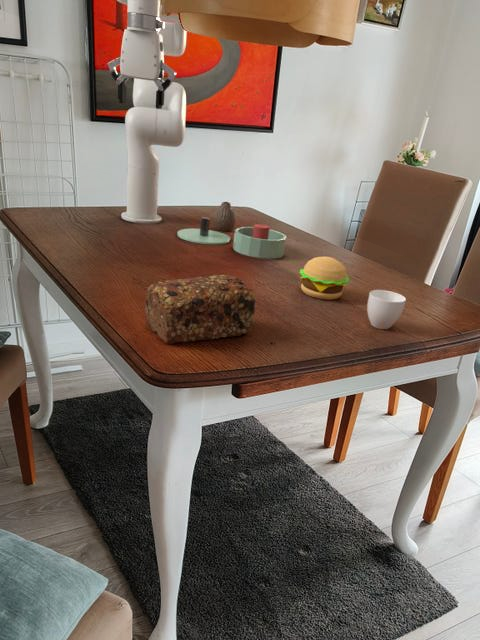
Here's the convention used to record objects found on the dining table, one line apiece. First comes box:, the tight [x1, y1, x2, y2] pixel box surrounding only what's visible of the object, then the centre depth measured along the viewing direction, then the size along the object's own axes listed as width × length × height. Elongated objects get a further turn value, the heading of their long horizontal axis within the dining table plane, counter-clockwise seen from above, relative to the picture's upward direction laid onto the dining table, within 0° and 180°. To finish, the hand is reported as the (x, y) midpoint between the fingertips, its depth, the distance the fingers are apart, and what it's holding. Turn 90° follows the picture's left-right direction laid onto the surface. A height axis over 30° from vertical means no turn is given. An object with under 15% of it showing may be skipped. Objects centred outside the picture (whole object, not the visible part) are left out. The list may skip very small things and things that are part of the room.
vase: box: [213, 201, 236, 233], centre depth 183 cm, size 7×7×9 cm
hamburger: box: [299, 256, 350, 301], centre depth 139 cm, size 12×12×9 cm
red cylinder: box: [253, 223, 270, 240], centre depth 165 cm, size 4×4×7 cm
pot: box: [232, 226, 288, 260], centre depth 166 cm, size 15×15×6 cm
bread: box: [145, 274, 257, 345], centre depth 109 cm, size 19×11×10 cm, turn 119°
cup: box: [366, 289, 407, 330], centre depth 126 cm, size 8×10×7 cm
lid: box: [176, 216, 231, 246], centre depth 171 cm, size 16×16×6 cm
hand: (140, 105), depth 148 cm, fingers open, 9 cm apart
